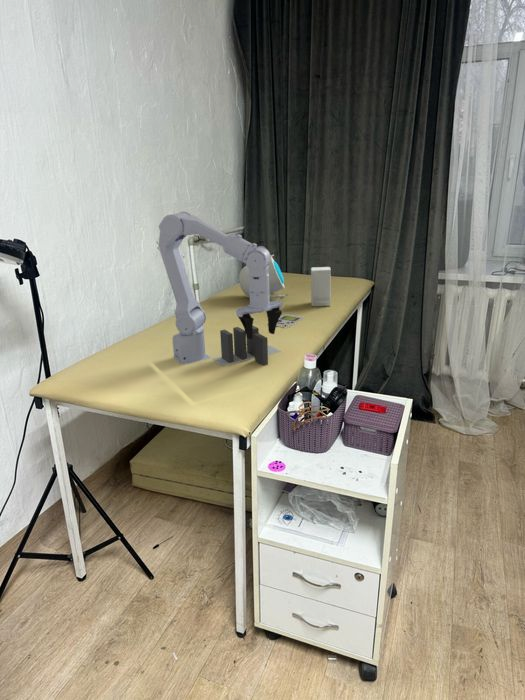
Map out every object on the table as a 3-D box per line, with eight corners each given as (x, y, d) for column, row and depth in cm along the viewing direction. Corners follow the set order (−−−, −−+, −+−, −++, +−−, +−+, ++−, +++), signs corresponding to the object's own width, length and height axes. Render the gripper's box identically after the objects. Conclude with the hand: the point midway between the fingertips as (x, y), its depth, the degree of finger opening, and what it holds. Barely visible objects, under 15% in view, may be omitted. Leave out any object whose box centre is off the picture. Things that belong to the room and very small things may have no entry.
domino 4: (263, 367, 142) (262, 338, 139) (254, 362, 146) (254, 334, 143) (267, 366, 143) (267, 337, 140) (259, 361, 147) (258, 333, 144)
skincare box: (330, 302, 207) (331, 266, 202) (330, 306, 201) (331, 269, 196) (310, 302, 208) (311, 266, 203) (310, 306, 202) (311, 269, 197)
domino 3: (254, 356, 149) (254, 329, 146) (247, 351, 153) (245, 325, 150) (259, 355, 150) (258, 328, 146) (251, 350, 154) (250, 324, 150)
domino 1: (229, 363, 145) (227, 334, 141) (221, 357, 149) (220, 330, 145) (233, 361, 145) (232, 333, 142) (226, 356, 149) (224, 329, 146)
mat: (222, 367, 143) (222, 366, 143) (212, 360, 148) (212, 358, 148) (281, 353, 153) (281, 351, 153) (270, 346, 158) (269, 345, 158)
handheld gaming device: (266, 324, 180) (285, 313, 192) (266, 326, 180) (285, 315, 192) (287, 327, 176) (305, 316, 188) (287, 329, 176) (305, 318, 188)
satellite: (231, 257, 220) (228, 272, 198) (270, 239, 217) (272, 253, 195) (251, 300, 229) (251, 319, 207) (290, 283, 226) (293, 301, 204)
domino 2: (242, 359, 147) (241, 332, 144) (234, 354, 151) (233, 327, 148) (246, 358, 148) (245, 331, 144) (239, 353, 152) (237, 326, 148)
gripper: (244, 297, 130) (246, 344, 135) (288, 289, 137) (288, 334, 142) (231, 292, 136) (234, 337, 141) (274, 285, 143) (275, 328, 147)
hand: (260, 335), depth 142 cm, fingers open, 7 cm apart
